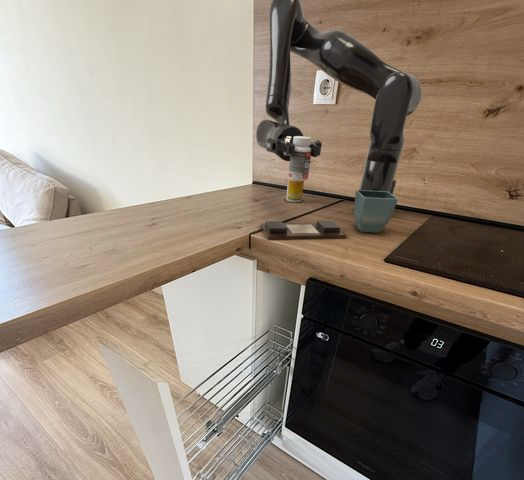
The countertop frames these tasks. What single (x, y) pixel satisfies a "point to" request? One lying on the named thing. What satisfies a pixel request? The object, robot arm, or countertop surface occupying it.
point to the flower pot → (373, 209)
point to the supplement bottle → (294, 190)
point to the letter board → (301, 230)
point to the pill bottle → (300, 159)
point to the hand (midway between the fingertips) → (304, 151)
